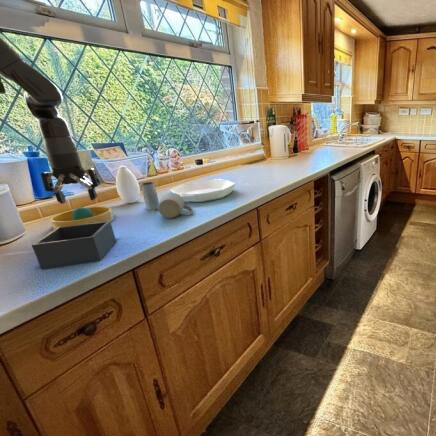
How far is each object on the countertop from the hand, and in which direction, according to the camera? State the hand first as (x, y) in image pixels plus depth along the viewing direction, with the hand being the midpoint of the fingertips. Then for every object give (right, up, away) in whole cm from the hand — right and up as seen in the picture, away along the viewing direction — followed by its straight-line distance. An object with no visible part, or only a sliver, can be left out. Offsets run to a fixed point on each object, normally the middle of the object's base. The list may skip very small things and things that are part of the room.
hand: (78, 201), depth 100 cm
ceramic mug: (+28, -5, +9) cm, 30 cm away
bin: (+17, -15, -20) cm, 30 cm away
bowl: (0, -8, +3) cm, 8 cm away
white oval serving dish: (+28, +4, +34) cm, 44 cm away
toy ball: (0, -7, +3) cm, 8 cm away
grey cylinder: (+15, -2, +17) cm, 23 cm away
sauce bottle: (0, +1, +28) cm, 28 cm away
